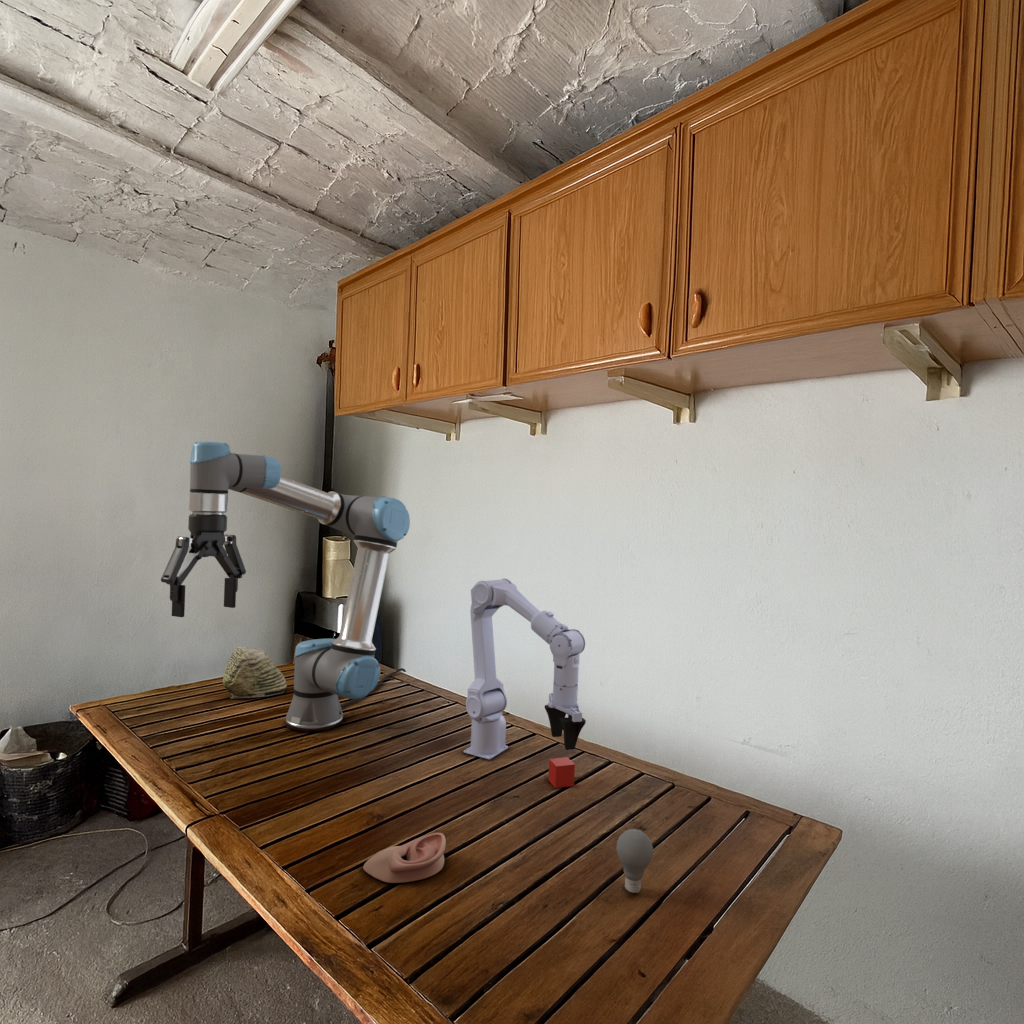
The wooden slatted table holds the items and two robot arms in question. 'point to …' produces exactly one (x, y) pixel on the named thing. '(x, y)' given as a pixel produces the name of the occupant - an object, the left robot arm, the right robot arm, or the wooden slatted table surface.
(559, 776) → the block
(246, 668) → the fossil
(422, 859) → the anatomical model
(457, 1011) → the wooden slatted table surface
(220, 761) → the wooden slatted table surface
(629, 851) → the light bulb
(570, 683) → the right robot arm
